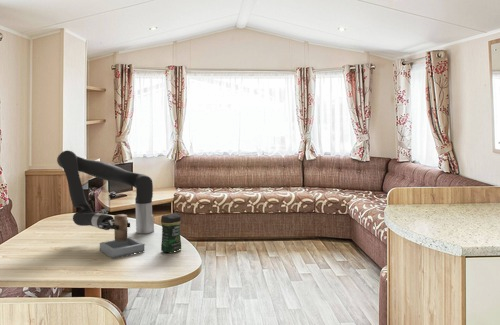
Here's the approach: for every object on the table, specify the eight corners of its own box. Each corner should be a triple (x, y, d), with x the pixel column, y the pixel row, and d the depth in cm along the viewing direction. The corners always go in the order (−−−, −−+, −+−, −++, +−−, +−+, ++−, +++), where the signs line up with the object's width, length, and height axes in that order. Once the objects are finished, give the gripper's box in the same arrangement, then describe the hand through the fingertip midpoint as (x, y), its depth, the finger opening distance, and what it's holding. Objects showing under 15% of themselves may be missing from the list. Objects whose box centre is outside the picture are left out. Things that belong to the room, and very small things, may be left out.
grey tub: (130, 244, 218) (130, 237, 218) (144, 251, 206) (144, 243, 206) (100, 250, 208) (99, 242, 208) (112, 258, 196) (112, 250, 195)
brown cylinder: (124, 237, 211) (124, 213, 209) (129, 240, 206) (129, 215, 205) (112, 239, 207) (112, 215, 206) (117, 242, 202) (117, 217, 201)
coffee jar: (169, 254, 202) (168, 216, 200) (158, 251, 206) (157, 214, 205) (184, 250, 209) (183, 213, 207) (173, 247, 214) (173, 211, 212)
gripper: (90, 216, 208) (111, 221, 198) (114, 211, 219) (135, 216, 210) (90, 231, 208) (111, 237, 199) (114, 225, 220) (136, 231, 210)
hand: (124, 226), depth 204 cm, fingers closed on brown cylinder, 6 cm apart
